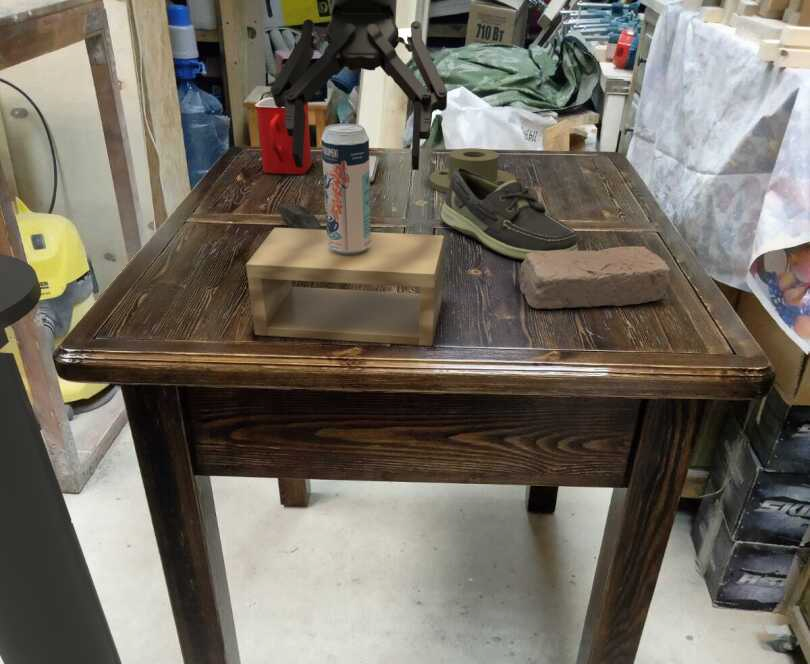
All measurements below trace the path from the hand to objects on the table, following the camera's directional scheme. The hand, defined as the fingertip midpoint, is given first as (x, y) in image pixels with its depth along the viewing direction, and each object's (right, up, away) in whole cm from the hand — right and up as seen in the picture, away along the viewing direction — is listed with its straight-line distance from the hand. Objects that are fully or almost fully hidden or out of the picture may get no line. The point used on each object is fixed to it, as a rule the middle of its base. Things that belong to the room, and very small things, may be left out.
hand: (356, 162), depth 87 cm
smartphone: (-3, +23, +50) cm, 55 cm away
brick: (+29, -13, +8) cm, 32 cm away
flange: (+17, +18, +45) cm, 52 cm away
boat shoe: (+20, -1, +22) cm, 30 cm away
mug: (-16, +23, +50) cm, 58 cm away
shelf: (-1, -17, +2) cm, 18 cm away
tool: (-7, -1, +22) cm, 23 cm away
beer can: (-1, -11, -3) cm, 12 cm away
